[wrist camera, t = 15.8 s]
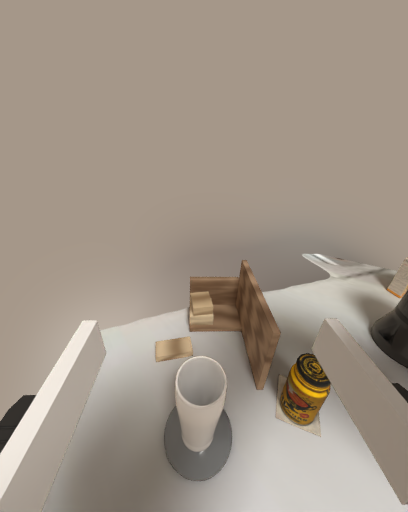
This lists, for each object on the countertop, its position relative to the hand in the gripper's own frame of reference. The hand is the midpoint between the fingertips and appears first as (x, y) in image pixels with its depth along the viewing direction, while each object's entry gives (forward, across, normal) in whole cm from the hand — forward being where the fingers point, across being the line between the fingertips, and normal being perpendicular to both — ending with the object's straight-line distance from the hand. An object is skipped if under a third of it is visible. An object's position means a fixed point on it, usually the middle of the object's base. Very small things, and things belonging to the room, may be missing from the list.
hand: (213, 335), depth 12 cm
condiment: (+11, +19, -32) cm, 39 cm away
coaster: (+7, 0, -32) cm, 33 cm away
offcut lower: (+33, +2, -31) cm, 45 cm away
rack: (+26, +6, -32) cm, 42 cm away
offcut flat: (+23, -5, -32) cm, 40 cm away
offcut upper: (+33, +2, -28) cm, 43 cm away
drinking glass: (+7, 0, -32) cm, 32 cm away
